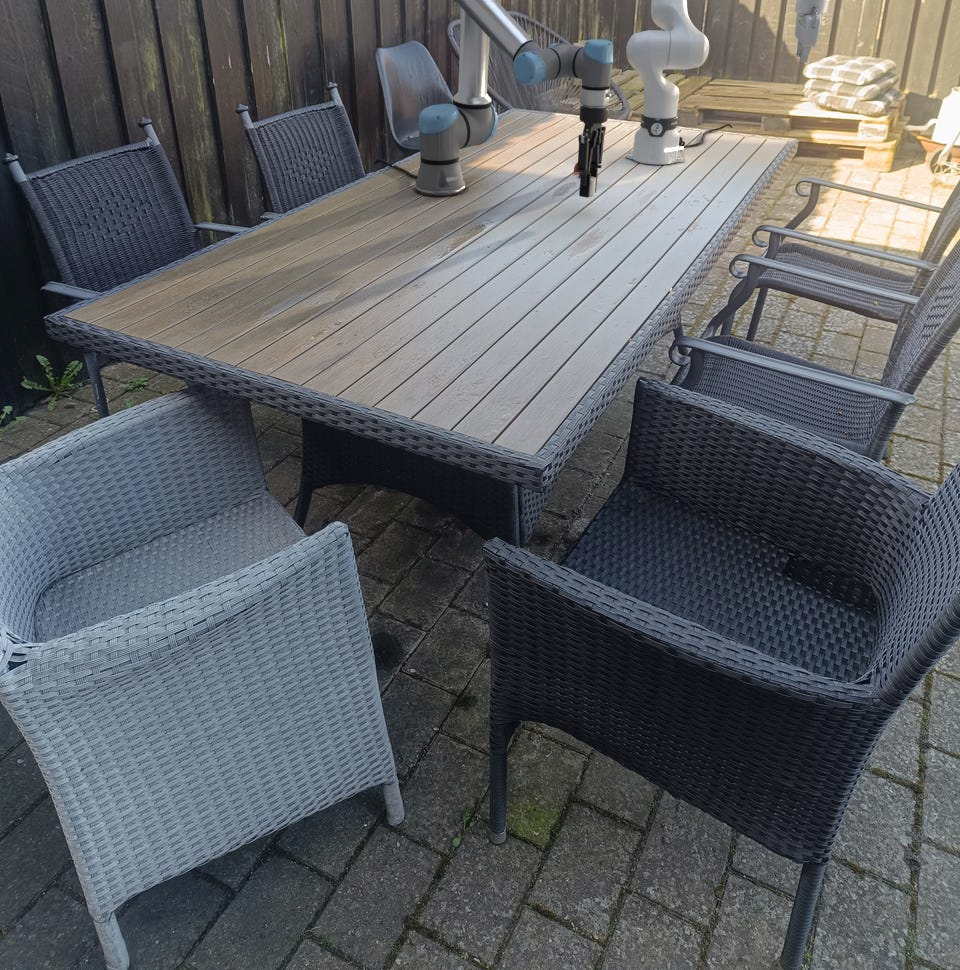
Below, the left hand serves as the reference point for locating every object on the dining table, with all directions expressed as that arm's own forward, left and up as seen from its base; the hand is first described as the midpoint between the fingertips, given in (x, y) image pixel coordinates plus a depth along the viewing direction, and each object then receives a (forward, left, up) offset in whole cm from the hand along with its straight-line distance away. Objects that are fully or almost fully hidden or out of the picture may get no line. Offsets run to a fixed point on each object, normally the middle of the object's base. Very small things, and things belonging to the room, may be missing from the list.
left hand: (587, 194), depth 238 cm
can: (0, 0, 0) cm, 0 cm away
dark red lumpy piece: (-21, +31, -5) cm, 38 cm away
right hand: (+29, +66, +29) cm, 78 cm away
